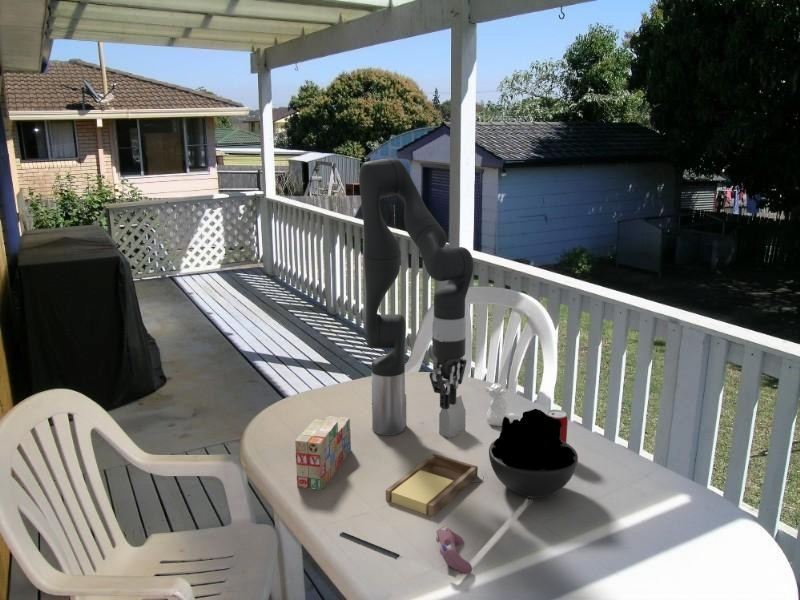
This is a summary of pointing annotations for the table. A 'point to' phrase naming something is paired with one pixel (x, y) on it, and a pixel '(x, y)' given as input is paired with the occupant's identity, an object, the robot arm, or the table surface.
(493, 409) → the sitting furry creature
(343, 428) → the stack of blocks
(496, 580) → the table surface
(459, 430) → the grey gabled house block
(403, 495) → the cover plate
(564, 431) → the soda can
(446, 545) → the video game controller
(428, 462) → the walnut box
